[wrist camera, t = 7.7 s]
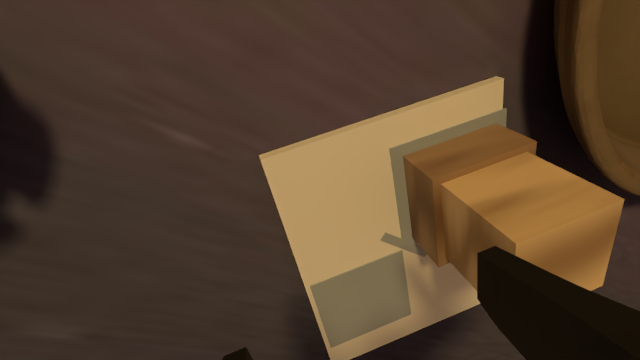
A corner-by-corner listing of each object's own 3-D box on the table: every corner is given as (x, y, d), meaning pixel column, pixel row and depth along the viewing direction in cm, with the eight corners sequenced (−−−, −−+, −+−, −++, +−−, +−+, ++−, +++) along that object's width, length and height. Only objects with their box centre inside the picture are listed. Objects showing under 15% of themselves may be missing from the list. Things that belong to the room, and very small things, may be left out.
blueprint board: (492, 291, 30) (498, 297, 29) (330, 359, 28) (333, 368, 27) (499, 75, 20) (508, 77, 20) (258, 155, 18) (260, 160, 18)
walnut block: (493, 205, 24) (528, 230, 21) (412, 237, 23) (438, 267, 21) (495, 123, 21) (537, 141, 18) (402, 156, 20) (432, 180, 18)
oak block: (521, 226, 21) (602, 285, 17) (445, 257, 20) (510, 326, 16) (527, 151, 19) (624, 199, 14) (440, 184, 18) (516, 243, 14)
